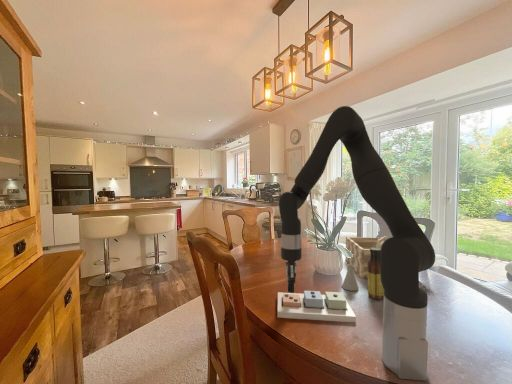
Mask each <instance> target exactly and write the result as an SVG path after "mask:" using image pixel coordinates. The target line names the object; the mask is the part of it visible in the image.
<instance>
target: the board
mask: <svg viewBox="0 0 512 384" xmlns="http://www.w3.org/2000/svg"><path fill="white" fill-rule="evenodd" d="M283 294H296V295H299V299H300V308H298V307H283ZM321 295H322V298H323V308H316V307H305V301H304V293H301V292H300V293H296V292H294V293H288V292H282V291H281V292H280V291H278V292H277V318H281V319H283V318H284V319H295V320H311V321H323V322H324V321H326V322H341V323H343V322H344V323H357V315H355V312H354V311H353V309H352V307H351V305H350V304H349V302H348V301H347V299H346V309H332V308H328V306H327V303H326V300H325V294H321Z"/></svg>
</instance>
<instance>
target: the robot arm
mask: <svg viewBox="0 0 512 384" xmlns="http://www.w3.org/2000/svg"><path fill="white" fill-rule="evenodd" d="M339 140H340V142H341V144H342V145H343V147H344V148H345V149H346V151H347V153H348V156H349V158H350V165H351V172H352V176H353V180H354V182H355V184H356V187H357V189H358V191H359V193H360V195H361V197H362V199H363V200H364V201H365V202H366V204H368V205H369V207H370V208H371V209H373V210H374V212H376V213H377V214H378V216H380V218H382V219H383V221H384V223H385V224H386V225H387V228H388V229H389V231H390V234H391V237H388V238H389V239H387V240H385V241H384V243H383V244H382V247H381V251H380V276H381V283H382V286H383V289H384V299H383V302H382V303H383V305H382V306H383V308H382V309H383V311H382V339H381V341H382V343H381V344H382V346H381V347H382V348H381V349H382V351H381V359H382V362H383V364H384V366H386V367H387V369H389V370H390V372H392V373H394V374H395V375H396V376H397V377H398V378H399V379H403V380H412V381H413V380H415V381H421V382H423V381H425V382H426V381H427V380H428V379H427V378H428V377H427V376H428V375H427V374H428V354H429V353H428V351H429V349H428V347H429V342H428V341H427V326H428V324H427V323H428V322H427V321H428V304H429V303H428V301H429V299H428V293H427V292H426V290H425V289H424V288H423V287H421V286H420V272H425V271H428V270H429V269H431V268H432V267H433V266H434V264H435V263H436V252H435V250H434V247H433V245H432V243H431V241H430V240H429V239H428V237H427V235H426V234H425V232H424V231H423V230H422V228H421V226H420V225H419V224H418V222H417V220H416V219H415V218H414V216H413V214H412V213H411V211H410V209H409V207H408V206H407V205H408V204H407V203H406V202H405V199H404V198H403V196H402V194H401V192H400V191H399V188H398V186H397V184H396V183H395V180H394V178H393V176H392V175H391V172H390V170H389V169H388V167H387V165H386V164H385V161H384V160H383V159H382V157H381V156H380V155H379V154H380V153H378V152H377V150H376V149H375V147H374V146H373V144H372V141H371V139H370V136H369V134H368V132H367V128H366V125H365V122H364V120H363V119H362V117H361V116H360V115H359V114H358V112H357V111H356V110H355V109H354V108H353V107H351V106H348V105H343V106H339V107H337V108H336V109H335V110H334V111H332V113H331V114H330V115H329V117H328V119H327V121H326V123H325V125H324V127H323V129H322V131H321V134H320V135H319V137H318V140H317V141H316V144H315V146H314V148H313V149H312V151H311V154H310V155H309V157H308V159H307V160H306V162H305V164H304V165H303V166H302V168H301V169H300V170H299V173H298V174H297V175H296V177H295V178H294V181H293V182H294V185H293V186H292V188H291V189H290V191H285V192H283V193H281V195H280V197H279V201H278V210H279V214H280V219H281V237H280V258H281V259H282V260H284V261H285V273H286V278H287V279H286V280H287V293H295V284H296V278H297V270H298V265H297V261H300V260H301V259H302V251H303V250H302V243H303V242H302V221H301V219H300V218H299V214H298V212H299V211H298V209H300V208H301V207H302V206H303V204H305V202H306V200H307V198H308V196H309V195H310V193H311V190H312V189H313V188H314V187H315V186H316V185H317V183H318V182H319V180H320V179H321V177H322V176H323V174H324V172H325V170H326V166H327V163H328V160H329V158H330V154H331V153H332V150H333V148H335V145H336V144H337V143H338V141H339Z"/></svg>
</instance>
